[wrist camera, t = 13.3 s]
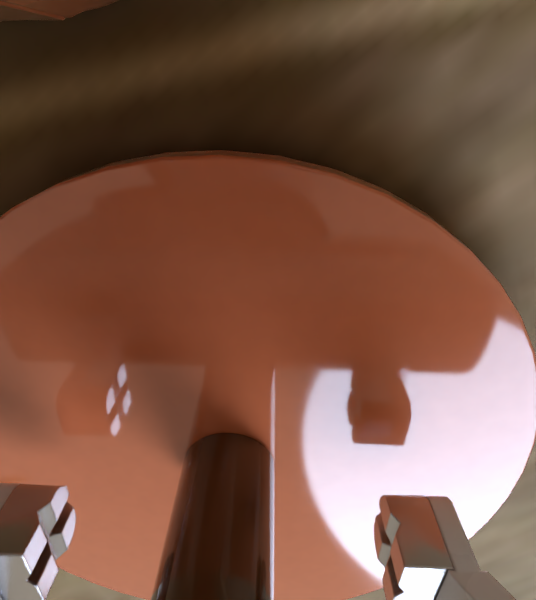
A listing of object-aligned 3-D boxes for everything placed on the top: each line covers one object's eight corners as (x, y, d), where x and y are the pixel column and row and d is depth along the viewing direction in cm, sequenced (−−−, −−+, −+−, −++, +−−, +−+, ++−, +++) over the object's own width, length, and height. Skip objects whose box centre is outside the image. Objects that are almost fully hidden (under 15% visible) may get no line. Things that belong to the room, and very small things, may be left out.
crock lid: (-169, 132, 8) (-732, 209, 4) (623, 156, 8) (1068, 265, 4) (32, 569, 16) (-66, 771, 11) (440, 582, 16) (506, 789, 11)
